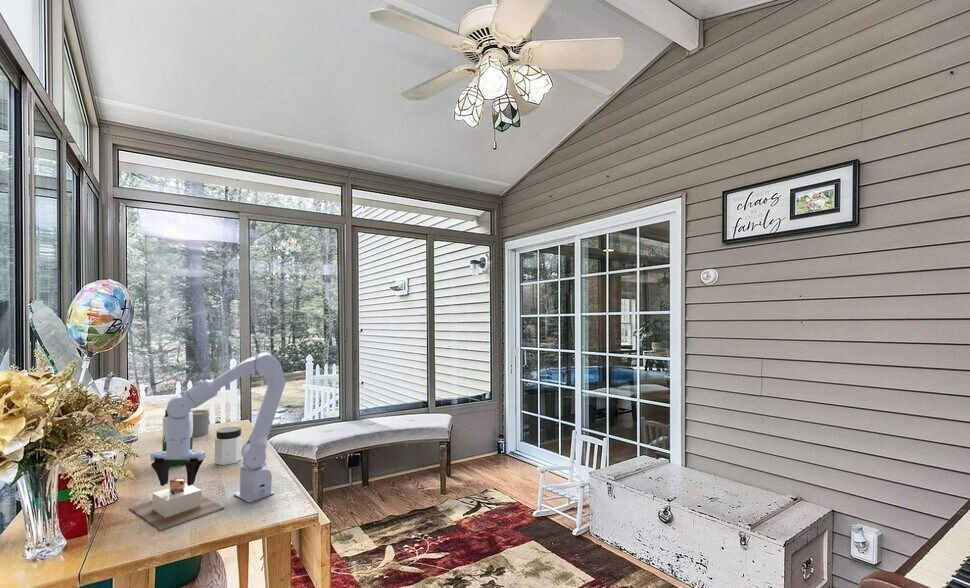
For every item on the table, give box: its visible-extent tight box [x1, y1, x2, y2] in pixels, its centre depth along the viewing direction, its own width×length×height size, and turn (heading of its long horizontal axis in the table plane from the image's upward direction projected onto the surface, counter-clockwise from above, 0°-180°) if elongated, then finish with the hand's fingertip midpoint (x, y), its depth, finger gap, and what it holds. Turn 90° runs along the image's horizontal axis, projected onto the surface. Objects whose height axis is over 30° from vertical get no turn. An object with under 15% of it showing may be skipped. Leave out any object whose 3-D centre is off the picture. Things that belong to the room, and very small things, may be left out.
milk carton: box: [161, 409, 194, 468], centre depth 167 cm, size 9×9×20 cm
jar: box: [213, 426, 243, 466], centre depth 169 cm, size 9×8×12 cm
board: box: [128, 494, 225, 532], centre depth 130 cm, size 22×16×1 cm
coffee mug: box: [190, 409, 210, 438], centre depth 202 cm, size 13×10×10 cm
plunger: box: [169, 477, 186, 494], centre depth 130 cm, size 4×4×7 cm
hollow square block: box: [151, 482, 202, 518], centre depth 130 cm, size 9×9×5 cm
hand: (177, 484), depth 130 cm, fingers open, 7 cm apart
